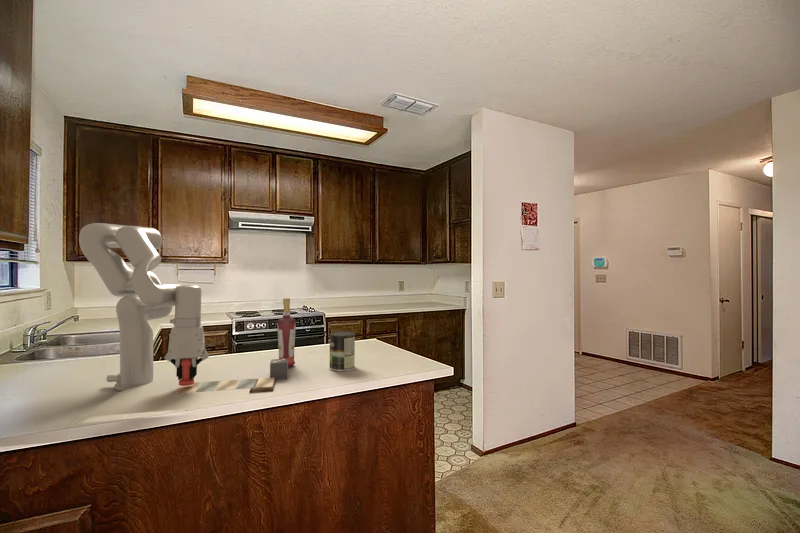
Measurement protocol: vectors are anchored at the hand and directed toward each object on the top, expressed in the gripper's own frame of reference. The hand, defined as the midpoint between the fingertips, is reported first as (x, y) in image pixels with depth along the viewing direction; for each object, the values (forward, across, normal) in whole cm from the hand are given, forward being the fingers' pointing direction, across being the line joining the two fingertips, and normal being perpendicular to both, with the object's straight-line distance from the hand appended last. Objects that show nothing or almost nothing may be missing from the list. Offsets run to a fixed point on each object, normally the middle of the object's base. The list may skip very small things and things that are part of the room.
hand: (186, 377), depth 127 cm
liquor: (+4, +31, +25) cm, 40 cm away
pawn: (+2, 0, 0) cm, 2 cm away
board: (+4, +13, 0) cm, 13 cm away
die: (+4, +29, +10) cm, 31 cm away
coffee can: (+4, +53, +17) cm, 55 cm away
